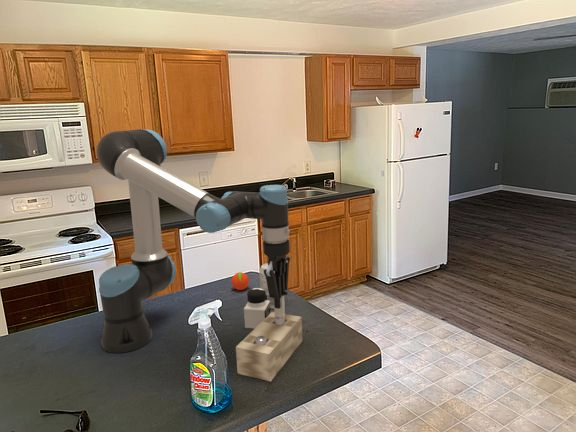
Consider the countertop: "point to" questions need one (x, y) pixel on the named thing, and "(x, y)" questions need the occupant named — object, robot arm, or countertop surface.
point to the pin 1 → (261, 340)
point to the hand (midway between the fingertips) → (279, 316)
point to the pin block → (269, 347)
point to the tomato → (240, 281)
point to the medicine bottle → (256, 308)
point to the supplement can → (265, 284)
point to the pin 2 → (279, 321)
